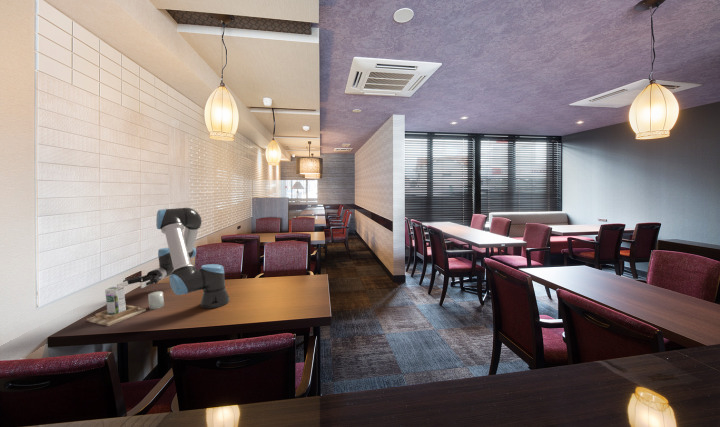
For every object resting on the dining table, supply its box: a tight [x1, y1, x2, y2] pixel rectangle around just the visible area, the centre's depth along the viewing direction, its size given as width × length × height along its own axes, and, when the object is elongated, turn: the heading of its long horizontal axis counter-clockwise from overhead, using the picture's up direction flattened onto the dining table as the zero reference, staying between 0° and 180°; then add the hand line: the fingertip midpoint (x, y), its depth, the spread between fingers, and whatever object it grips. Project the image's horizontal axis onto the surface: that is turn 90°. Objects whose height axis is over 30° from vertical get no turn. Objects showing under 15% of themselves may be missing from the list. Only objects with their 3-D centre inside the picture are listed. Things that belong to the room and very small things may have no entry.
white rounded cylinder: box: [147, 290, 165, 310], centre depth 164 cm, size 7×7×8 cm
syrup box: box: [104, 286, 127, 315], centre depth 152 cm, size 6×6×14 cm
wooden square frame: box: [86, 304, 147, 327], centre depth 153 cm, size 18×18×3 cm
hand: (129, 286), depth 162 cm, fingers open, 13 cm apart
